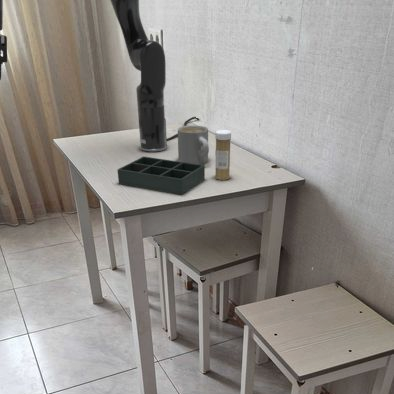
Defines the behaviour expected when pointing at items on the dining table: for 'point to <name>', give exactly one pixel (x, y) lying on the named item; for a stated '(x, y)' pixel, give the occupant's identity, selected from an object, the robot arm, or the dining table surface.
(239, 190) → the dining table surface
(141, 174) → the rack
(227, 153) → the sprinkles bottle
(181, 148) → the coffee mug
